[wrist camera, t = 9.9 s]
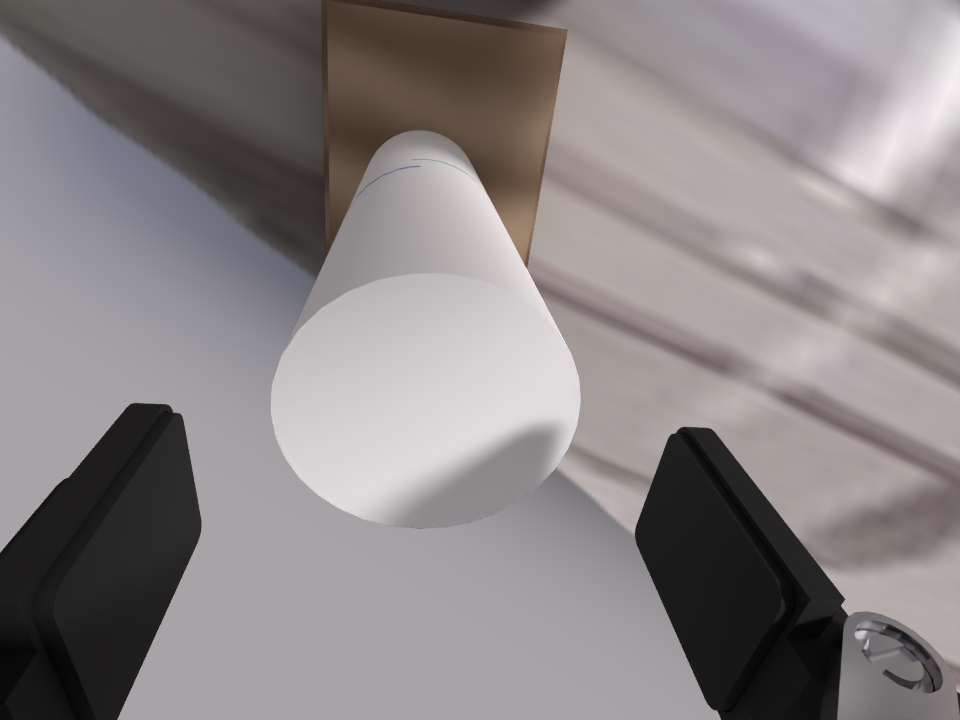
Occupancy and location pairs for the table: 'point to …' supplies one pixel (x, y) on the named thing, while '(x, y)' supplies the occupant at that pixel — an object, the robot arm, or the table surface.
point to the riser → (439, 99)
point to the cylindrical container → (424, 353)
